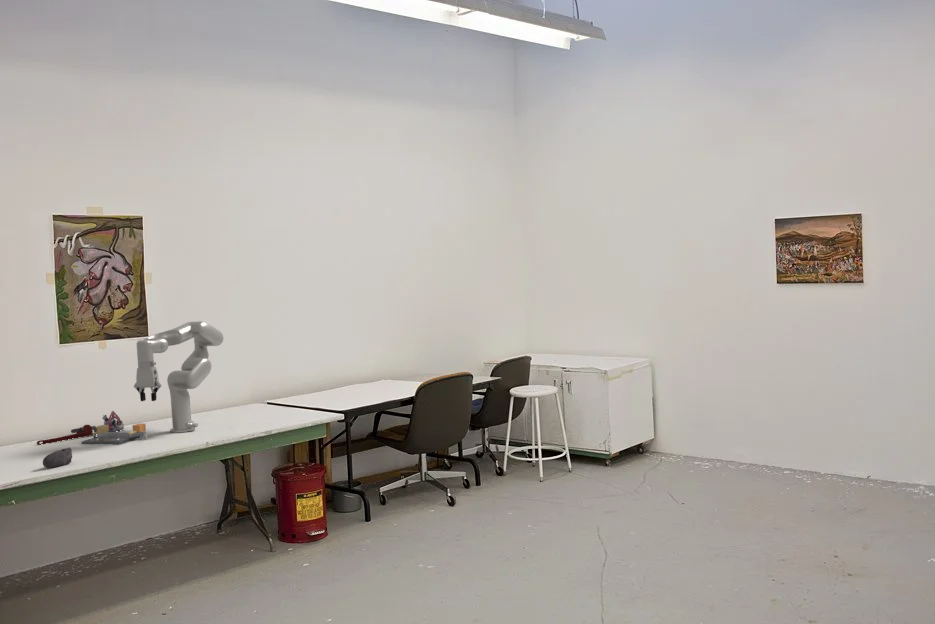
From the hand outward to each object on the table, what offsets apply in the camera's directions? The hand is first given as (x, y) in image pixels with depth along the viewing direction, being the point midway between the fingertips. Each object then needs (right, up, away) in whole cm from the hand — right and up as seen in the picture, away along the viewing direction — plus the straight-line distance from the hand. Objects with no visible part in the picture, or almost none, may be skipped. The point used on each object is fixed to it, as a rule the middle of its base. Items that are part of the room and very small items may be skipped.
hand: (148, 400), depth 433 cm
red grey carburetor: (-30, -20, +30) cm, 47 cm away
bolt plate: (-17, -20, 0) cm, 26 cm away
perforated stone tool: (-20, -24, -54) cm, 62 cm away
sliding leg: (-6, -18, -1) cm, 19 cm away
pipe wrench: (-45, -22, +11) cm, 52 cm away
